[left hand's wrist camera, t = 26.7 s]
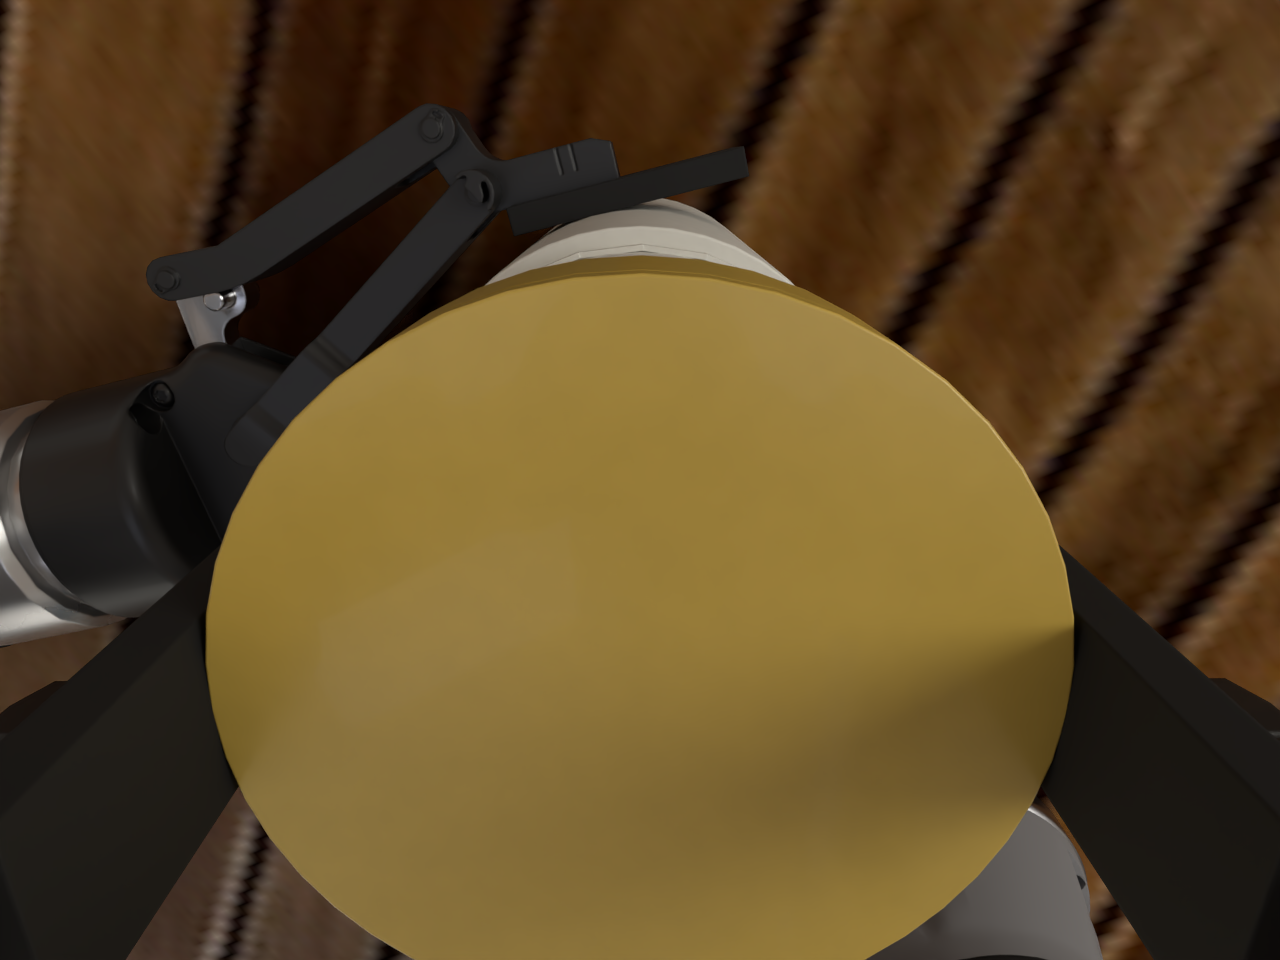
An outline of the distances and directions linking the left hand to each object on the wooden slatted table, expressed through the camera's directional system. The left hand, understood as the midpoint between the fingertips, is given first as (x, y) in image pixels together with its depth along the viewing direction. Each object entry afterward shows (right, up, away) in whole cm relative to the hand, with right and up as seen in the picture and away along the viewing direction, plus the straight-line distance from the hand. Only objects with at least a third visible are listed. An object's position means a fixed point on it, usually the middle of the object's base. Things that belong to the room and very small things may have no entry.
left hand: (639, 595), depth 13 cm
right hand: (+4, +6, +11) cm, 13 cm away
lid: (0, -1, -3) cm, 3 cm away
